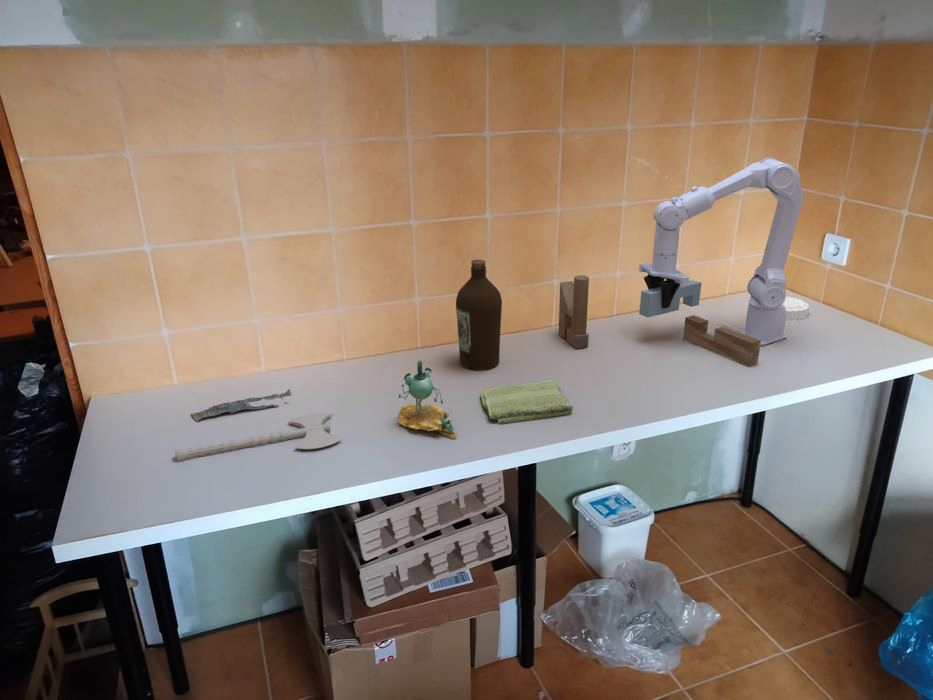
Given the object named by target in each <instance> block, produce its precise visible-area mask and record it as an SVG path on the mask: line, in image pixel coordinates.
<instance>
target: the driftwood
mask: <svg viewBox="0 0 933 700" xmlns="http://www.w3.org/2000/svg"><path fill="white" fill-rule="evenodd" d="M291 396H292V394H291V389H287V390H286V392H284V393H280V394H277V393H273V394H271V395H266V396H262V397H250V398H245V399H241V400H240V399H239V400H234V401H231V402H224V403H220V404H217V405H213V406H211V407H209V408H208V409H204V410H201V411H199V412H193V413H191V416H192V418H193V419H194V420H195V421H196V422H200V420H202V419H203V418H208V417H215V416H217V415H221V414H223V413H227V412H228V413H230V415H233V414H234V413H236V412H239V411H242V410H261V409H266V408H269V407H275V408H279V405H278V404H269V405H265V404H263V405H259V406H253V405H251V403H254V402H259V401H262V400H266V401H267V400H268V401H272V400H275V399H281V401H283V400H284V399H283V398H286V397H291ZM248 402H249V403H248ZM283 404H284V405H287V404H289V402H286V401H284V403H283Z"/></svg>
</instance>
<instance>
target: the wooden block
mask: <svg viewBox="0 0 933 700" xmlns="http://www.w3.org/2000/svg"><path fill="white" fill-rule="evenodd" d="M589 284H590V277H589V276H587V275H582V274H580V275H575V276H574V277H573V281H561V282H560V283H559V304H558V305H559V307H558V308H559V310H558V335H559V336H560V337H561V338H562V339H566V342H567V343H568V344H569V345H571V347H573V348H574V350H575V349H576V350H577V349H583V348H588V347H589V338H590V337H589V336H590V335H589V333H587V321H588V307H589V306H588V305H589V304H588V303H589Z"/></svg>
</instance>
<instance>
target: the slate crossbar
mask: <svg viewBox="0 0 933 700" xmlns="http://www.w3.org/2000/svg"><path fill="white" fill-rule="evenodd" d="M702 284H703V283H702V282H701V281H697V280H695V279H689V283H688V284H687V285H683V286H682V285H680V287H679V288H678V289H677V291H676V293H675V295H674V297H673V299H672V302H671V304H670V307H668V308H665V309H664V308H662V291H661V287H658V288H653V289H649V290H648V289H645V290H641V292H640V301H639V302H640V303H639V312H638V314H639V315H640V316H643V317H646V318H652V317H655V316H660V315H663V314H664V315H665V314H668V313H672V312H675V311H679V310H680V303H681V298H682V304H683V305H685V306H688V307H691V308H692V307H696V306H699V305H700V299H701V292H702V290H701V289H702Z"/></svg>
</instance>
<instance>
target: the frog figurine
mask: <svg viewBox="0 0 933 700" xmlns="http://www.w3.org/2000/svg"><path fill="white" fill-rule="evenodd" d="M416 367H417V371H416V372H417V373H416V374H414V375H413V377H411V373H410V372H408V373H406V374H405V375H404V377H403V380H404V383H405V384H404V383H403V384H401V388H402V393H403V395H405V394H407V395H406V396H402V395H401V394H400V393H399V394H398V399H401V398H402V399H405V400H406V399H407V398H408V396H409V394H410V396H412V397H413V398H414V399H415V404H410V403H409V404H407V405H403V407H401V409H400V410H398V411H399V413H398V416H399V418H398V423H399V425H401V426H403V427H405V428H406V427H408V428H410V429H412V430H424V431H427V432H430V431H431V432H434V431H438V434H439V435H440V434H441V435H444V436H445V437H447V438H449V439H457V435H458V434H457V433H456V432H455V430H454V426H453V424H452V419H453V418H452V419H451V418H450V415H449V414H448V412H447V411H444V410H443V409H442V408H441V407H439V406H435V405H432V404H429V405H426V404H422V401H423V400H426V399H428V398H429V397H430V396H431V395H432V393H433V390H434V392H435V393H436V397H435V398H434V400H433V401H434V402H435V403H437V399H438V396H440V403H441V404H443V403H444V402H443V399H442V395H441V390H440V389H438V388H436V387H435V386H434V385H433V382H432V380H431V375H430V373H432V369H431V368H429V367H425V369H424V372H423V360H422V359H421V360H420V359H419V360H418V361H417V366H416ZM428 371H429V372H428ZM405 385H406V386H408V390H407V391H405V390H404V386H405ZM444 426H445V428H443V427H444Z"/></svg>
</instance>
